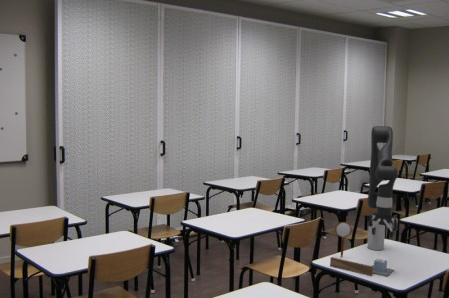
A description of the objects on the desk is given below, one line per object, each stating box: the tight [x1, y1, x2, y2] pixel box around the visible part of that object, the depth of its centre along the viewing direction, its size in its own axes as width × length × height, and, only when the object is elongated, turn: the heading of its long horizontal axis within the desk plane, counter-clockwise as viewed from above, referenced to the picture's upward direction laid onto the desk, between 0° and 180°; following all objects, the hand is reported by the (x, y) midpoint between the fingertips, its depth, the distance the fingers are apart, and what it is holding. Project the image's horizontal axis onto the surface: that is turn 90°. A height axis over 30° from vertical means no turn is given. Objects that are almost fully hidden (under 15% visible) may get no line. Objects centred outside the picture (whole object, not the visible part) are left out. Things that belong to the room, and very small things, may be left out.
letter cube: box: [373, 258, 388, 272], centre depth 251 cm, size 5×5×5 cm
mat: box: [371, 264, 395, 278], centre depth 251 cm, size 11×11×1 cm
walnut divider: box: [329, 256, 374, 277], centre depth 251 cm, size 2×22×4 cm, turn 54°
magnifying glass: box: [334, 221, 352, 258], centre depth 271 cm, size 9×2×20 cm, turn 91°
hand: (382, 236), depth 250 cm, fingers open, 8 cm apart
